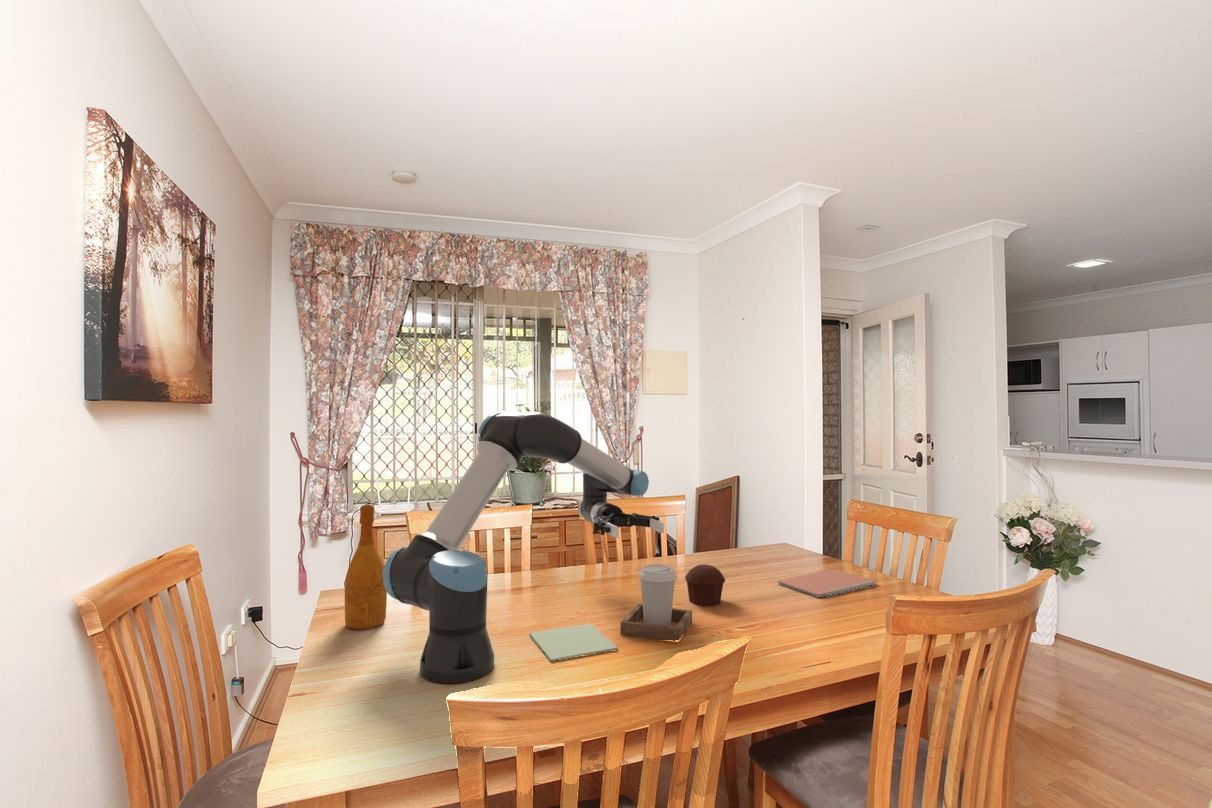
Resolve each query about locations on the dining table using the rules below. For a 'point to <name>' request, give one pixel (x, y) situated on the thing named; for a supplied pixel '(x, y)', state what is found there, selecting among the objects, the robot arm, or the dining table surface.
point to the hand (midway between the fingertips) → (640, 530)
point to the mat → (572, 641)
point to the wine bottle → (365, 580)
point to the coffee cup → (657, 593)
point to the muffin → (705, 585)
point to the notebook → (826, 582)
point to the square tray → (654, 631)
